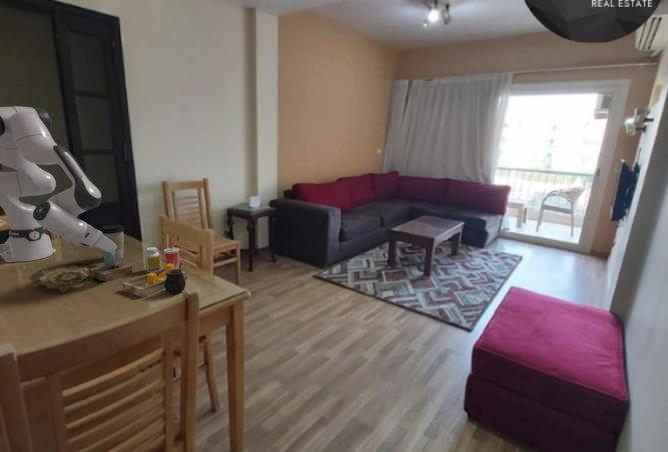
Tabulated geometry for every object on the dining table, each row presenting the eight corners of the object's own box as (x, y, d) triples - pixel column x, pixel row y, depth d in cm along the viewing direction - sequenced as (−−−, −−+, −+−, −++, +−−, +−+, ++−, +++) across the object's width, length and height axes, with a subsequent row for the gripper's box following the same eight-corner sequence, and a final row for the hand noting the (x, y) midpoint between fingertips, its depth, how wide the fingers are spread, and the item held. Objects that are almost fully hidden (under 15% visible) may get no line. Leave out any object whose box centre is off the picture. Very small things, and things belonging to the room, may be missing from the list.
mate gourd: (160, 294, 128) (158, 269, 125) (172, 286, 135) (170, 262, 132) (178, 296, 127) (176, 270, 124) (190, 287, 134) (188, 263, 132)
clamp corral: (123, 290, 130) (122, 283, 129) (168, 273, 146) (167, 266, 146) (142, 297, 125) (141, 289, 124) (187, 279, 141) (186, 272, 141)
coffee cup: (117, 261, 157) (113, 230, 154) (99, 260, 159) (94, 228, 155) (132, 255, 166) (128, 224, 163) (114, 253, 168) (110, 223, 164)
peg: (102, 265, 141) (99, 242, 139) (111, 262, 144) (108, 239, 142) (108, 267, 140) (105, 243, 137) (117, 264, 143) (114, 241, 140)
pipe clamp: (166, 278, 142) (165, 263, 141) (175, 279, 141) (174, 264, 140) (144, 290, 131) (142, 274, 129) (154, 291, 130) (152, 275, 128)
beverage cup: (177, 272, 148) (174, 240, 145) (162, 271, 148) (159, 240, 145) (183, 266, 154) (180, 236, 151) (169, 266, 154) (166, 236, 151)
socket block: (89, 276, 141) (88, 269, 140) (116, 267, 151) (115, 261, 150) (105, 281, 136) (104, 274, 136) (132, 272, 146) (131, 266, 145)
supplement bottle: (163, 269, 150) (161, 248, 148) (151, 273, 146) (149, 251, 143) (155, 266, 153) (153, 245, 151) (143, 270, 149) (141, 249, 146)
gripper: (59, 237, 134) (90, 254, 144) (90, 245, 125) (120, 263, 136) (70, 223, 136) (99, 241, 147) (102, 231, 127) (130, 249, 138)
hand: (110, 252), depth 141 cm, fingers closed on peg, 4 cm apart
